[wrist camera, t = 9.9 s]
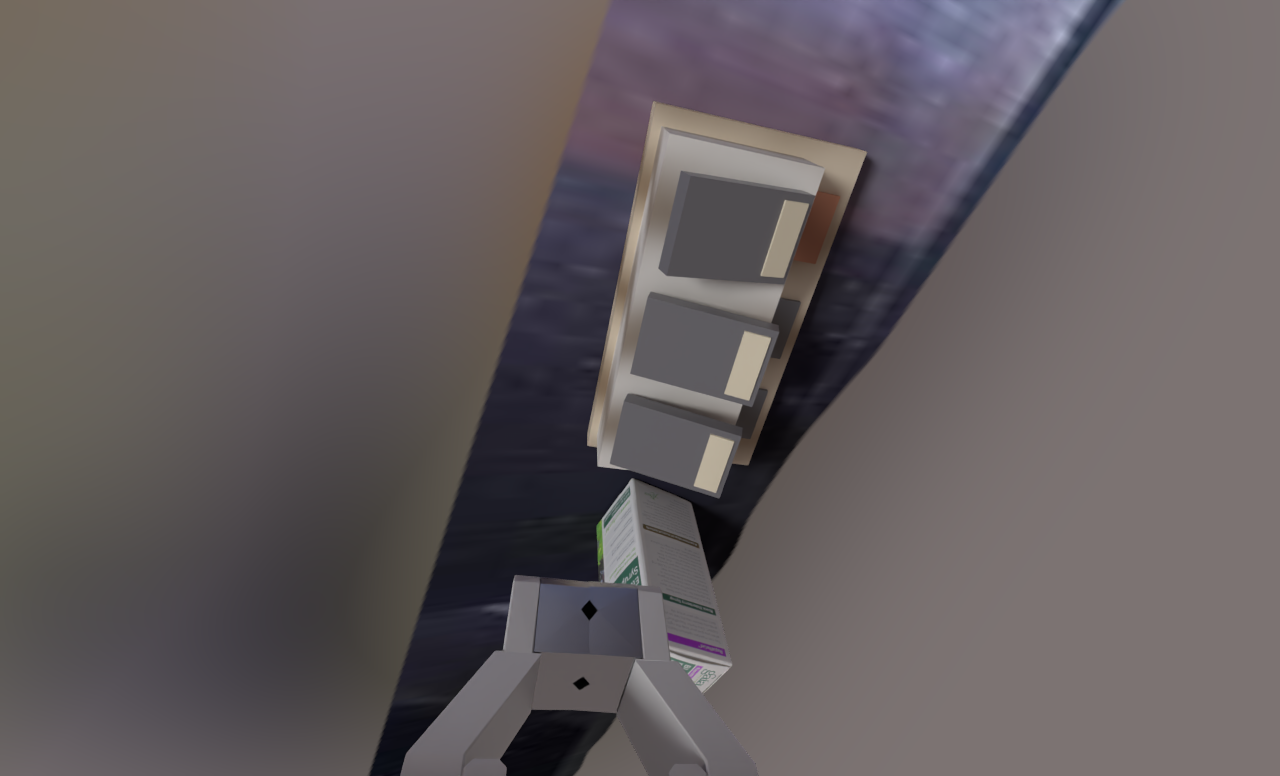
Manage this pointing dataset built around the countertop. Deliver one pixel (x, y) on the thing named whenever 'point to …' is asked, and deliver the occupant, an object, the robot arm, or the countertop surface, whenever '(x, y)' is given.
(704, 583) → the syrup box
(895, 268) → the countertop surface
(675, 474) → the switch
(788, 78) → the countertop surface
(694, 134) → the switch unit
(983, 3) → the countertop surface
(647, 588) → the robot arm
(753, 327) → the switch middle
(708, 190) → the switch
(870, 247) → the countertop surface
